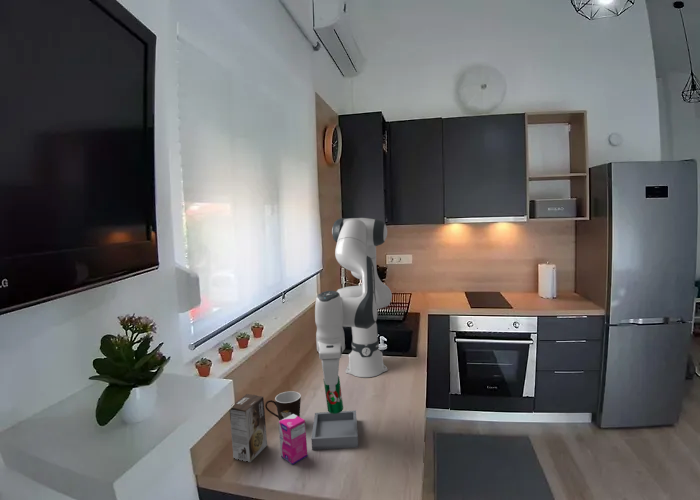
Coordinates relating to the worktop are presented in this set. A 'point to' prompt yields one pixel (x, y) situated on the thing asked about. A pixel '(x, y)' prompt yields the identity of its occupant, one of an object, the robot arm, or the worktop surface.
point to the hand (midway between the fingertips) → (332, 386)
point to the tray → (334, 430)
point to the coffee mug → (286, 404)
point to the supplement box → (293, 438)
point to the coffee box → (248, 427)
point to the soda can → (334, 398)
